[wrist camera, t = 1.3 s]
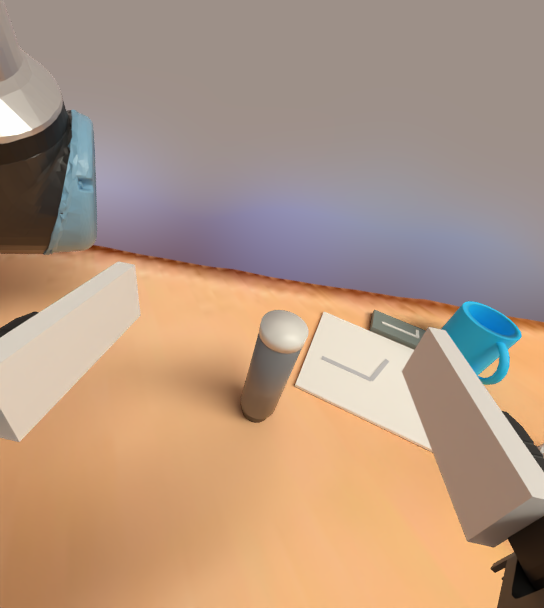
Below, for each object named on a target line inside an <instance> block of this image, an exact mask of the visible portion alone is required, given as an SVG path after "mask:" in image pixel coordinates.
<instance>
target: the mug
mask: <svg viewBox="0 0 544 608" xmlns="http://www.w3.org/2000/svg"><path fill="white" fill-rule="evenodd" d="M441 330H446V332H447V333H448V335H449V336H450V337H451V339H452V340H453V342H454V343H455V345H456V346H457V348H458V349H459V350H460V352H461V353H462V355H463V356H464V358H465V359H466V361H467V362H468V363H469V365H470V366H471V368H472V369H473V371H474V372H475V374H476V375H477V376H478V375H479V374H480V373H481V372H482V371H483V370H485V369H486V368H487V367H488V366H489V365H490V364H492V363H493V362H494V361H495V360H496V359H497V358H499V365H498V368H497V370H496V372H495V373H494V374H493V375H492V376H490V377H488V378H482V377H479V376H478V378H479V379H480V381H481V382H482V384H485V385H490V384H496V383H498V382H500V381H501V380H502V379H503V378H504V377H505V376H506V374H507V372H508V369H509V360H510V357H509V353H508V349H509V348H510V347H511V346H513V345H514V344H515V343H516V342H517V341H518V340H520V338H521V337H522V336H521V332H520V330H519V329H518V327H517V326H516V325H515V324H514V323H513V322H512V321H511V320H510V319H509V318H507V317H506V316H505V315H503V314H502V313H500V312H498V311H497V310H495V309H492V308H491V307H489V306H486V305H483V304H481V303H478V302H472V301H470V302H465V303H464V304H463V305H462V306H461V307H460V308H459V309H458V310H457V311H456V313H455V314H454V315H453V316H452V317H451V318H450V319H449V321H448V322H447V323H446V324H445V325H444V326H443V328H442V329H441Z"/></svg>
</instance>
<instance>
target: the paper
mask: <svg viewBox="0 0 544 608" xmlns="http://www.w3.org/2000/svg"><path fill="white" fill-rule="evenodd" d="M413 352H414V350H413V349H411V348H409V347H406V346H404V345H402V344H399V343H397V342H395V341H392V340H390V339H387V338H385V337H383V336H380V335H378V334H376V333H373V332H371V331H369V330H366V329H364V328H362V327H359V326H357V325H354V324H352V323H350V322H347V321H345V320H343V319H340V318H338V317H336V316H333V315H331V314H328V313H326V312H324V313H323V315H322V318H321V320H320V323H319V325H318V328H317V330H316V333H315V335H314V338H313V340H312V343H311V346H310V348H309V351H308V353H307V356H306V358H305V361H304V363H303V366H302V369H301V371H300V374H299V376H298V379H297V381H296V384H295V387H297V388H299V389H301V390H303V391H305V392H307V393H309V394H311V395H314V396H316V397H318V398H320V399H322V400H324V401H326V402H328V403H330V404H332V405H335V406H337V407H339V408H341V409H343V410H345V411H347V412H349V413H351V414H353V415H355V416H358V417H360V418H362V419H364V420H366V421H368V422H370V423H372V424H374V425H376V426H378V427H381V428H383V429H385V430H387V431H389V432H391V433H393V434H395V435H397V436H399V437H402V438H404V439H406V440H408V441H410V442H412V443H414V444H416V445H418V446H420V447H422V448H425V449H427V450H429V451H431V452H433V451H432V449H431V446H430V443H429V441H428V438H427V436H426V433H425V430H424V428H423V425H422V423H421V420H420V417H419V415H418V412H417V410H416V407H415V404H414V402H413V399H412V397H411V394H410V391H409V389H408V386H407V384H406V381H405V378H404V376H403V373H402V370H403V368H404V367H405V365H406V363H407V362H408V360H409V358H410V357H411V355H412V353H413Z"/></svg>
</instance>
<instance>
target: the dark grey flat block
mask: <svg viewBox="0 0 544 608" xmlns="http://www.w3.org/2000/svg"><path fill="white" fill-rule="evenodd" d="M370 331H371V332H373V333H376V334H378V335H380V336H383V337H385V338H387V339H390V340H392V341H395V342H397V343H399V344H402V345H404V346H406V347H409V348H411V349H413V350H415V348H416V347H417V345H418V343H419V342H420V340H421V338H422V337H423V335H424V333H425V332H426V331H425V330H423V329H420V328H418V327H415V326H413V325H410V324H408V323H405V322H403V321H401V320H398V319H396V318H393V317H391V316H388V315H386V314H384V313H381V312H379V311H376V310H374V312H373V313H372V318H371V324H370Z"/></svg>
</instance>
